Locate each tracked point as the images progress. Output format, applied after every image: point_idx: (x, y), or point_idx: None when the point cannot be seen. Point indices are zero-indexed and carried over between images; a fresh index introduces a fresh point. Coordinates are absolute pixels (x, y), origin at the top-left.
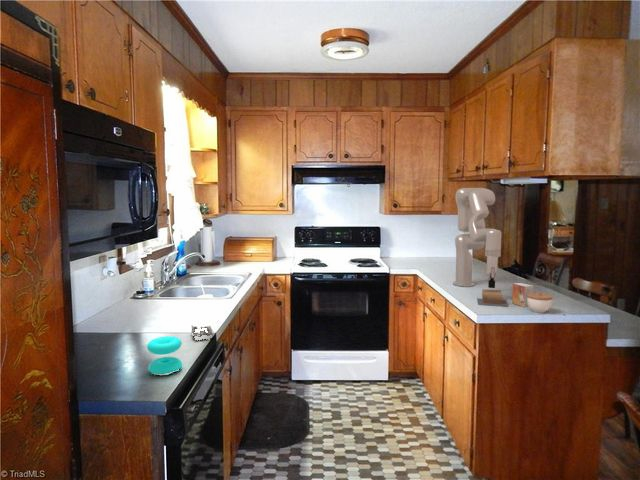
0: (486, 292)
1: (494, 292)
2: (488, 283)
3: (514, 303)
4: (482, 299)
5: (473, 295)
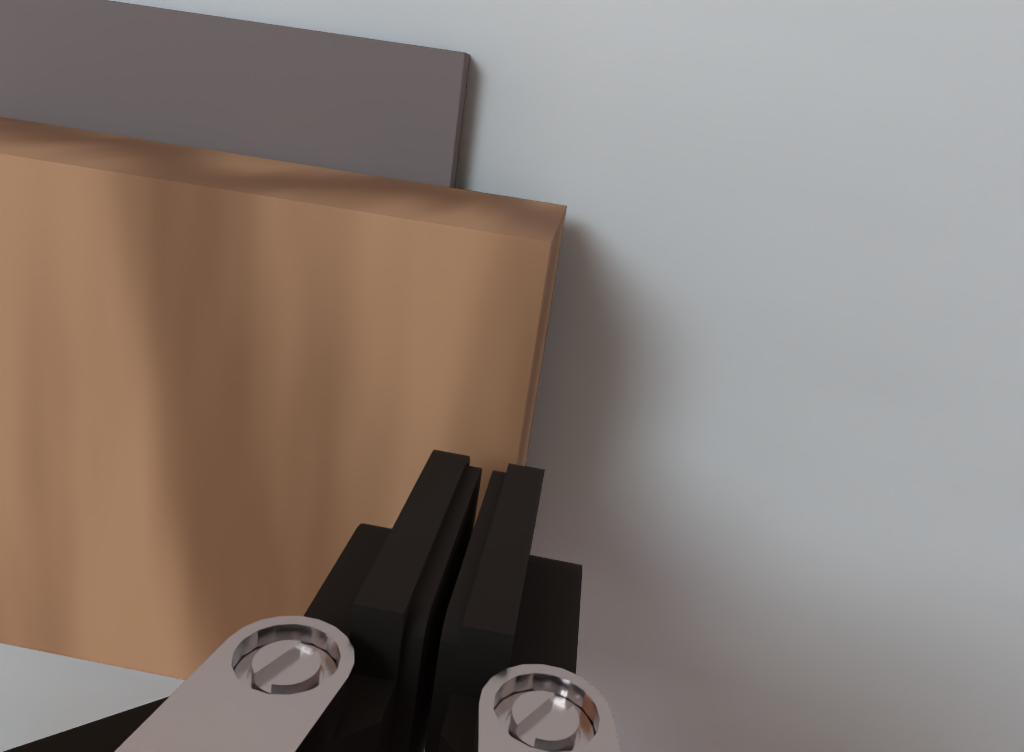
0: (23, 261)
1: (103, 497)
2: (493, 529)
3: None
4: (354, 169)
5: (994, 28)
